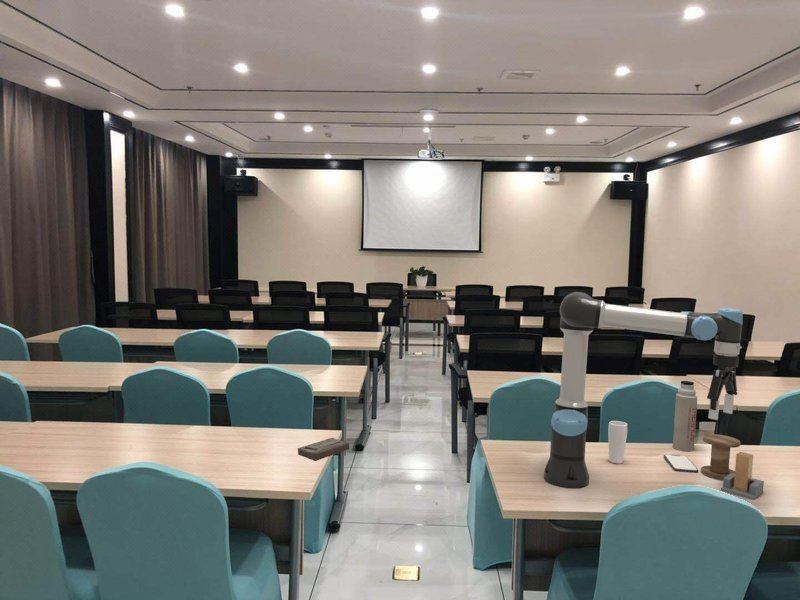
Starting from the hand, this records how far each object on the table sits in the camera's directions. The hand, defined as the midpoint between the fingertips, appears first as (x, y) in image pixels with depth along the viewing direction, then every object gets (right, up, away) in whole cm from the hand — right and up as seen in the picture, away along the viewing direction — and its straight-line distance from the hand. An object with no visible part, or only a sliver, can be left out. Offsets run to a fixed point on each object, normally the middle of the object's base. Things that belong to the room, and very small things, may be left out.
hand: (720, 416), depth 205 cm
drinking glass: (-27, -23, +25) cm, 43 cm away
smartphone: (-3, -24, +24) cm, 34 cm away
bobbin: (+7, -24, +14) cm, 29 cm away
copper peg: (+6, -24, -2) cm, 25 cm away
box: (-138, -20, +26) cm, 142 cm away
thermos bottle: (+8, -22, +44) cm, 50 cm away
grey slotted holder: (+6, -25, -1) cm, 26 cm away
